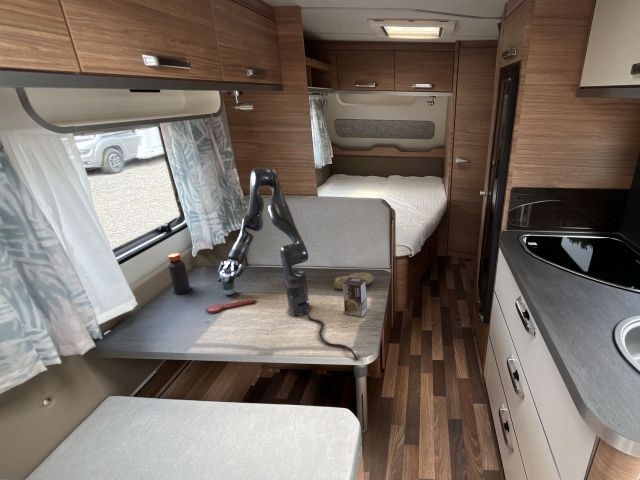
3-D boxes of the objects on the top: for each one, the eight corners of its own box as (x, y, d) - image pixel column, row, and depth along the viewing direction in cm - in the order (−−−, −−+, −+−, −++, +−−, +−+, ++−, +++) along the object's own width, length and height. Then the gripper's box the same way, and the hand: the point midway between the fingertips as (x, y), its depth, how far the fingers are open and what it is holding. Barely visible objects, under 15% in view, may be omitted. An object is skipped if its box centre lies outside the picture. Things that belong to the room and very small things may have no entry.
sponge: (335, 294, 173) (372, 287, 173) (331, 280, 172) (369, 273, 172) (340, 286, 186) (375, 279, 186) (337, 273, 185) (372, 266, 185)
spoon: (254, 304, 161) (254, 302, 161) (207, 314, 153) (207, 312, 153) (254, 298, 166) (253, 296, 166) (208, 307, 158) (208, 305, 158)
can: (238, 290, 171) (234, 272, 167) (229, 295, 166) (225, 277, 162) (229, 288, 172) (226, 271, 169) (220, 293, 167) (217, 276, 164)
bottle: (175, 295, 168) (166, 259, 161) (173, 290, 172) (164, 254, 166) (191, 291, 172) (183, 255, 165) (189, 285, 177) (181, 251, 170)
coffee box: (367, 309, 159) (366, 279, 154) (362, 317, 153) (361, 286, 148) (350, 306, 162) (348, 276, 156) (344, 313, 156) (342, 283, 150)
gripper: (223, 246, 170) (207, 278, 164) (245, 250, 166) (230, 283, 160) (233, 252, 177) (218, 282, 170) (255, 256, 173) (241, 287, 166)
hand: (224, 282), depth 165 cm, fingers closed on can, 5 cm apart
